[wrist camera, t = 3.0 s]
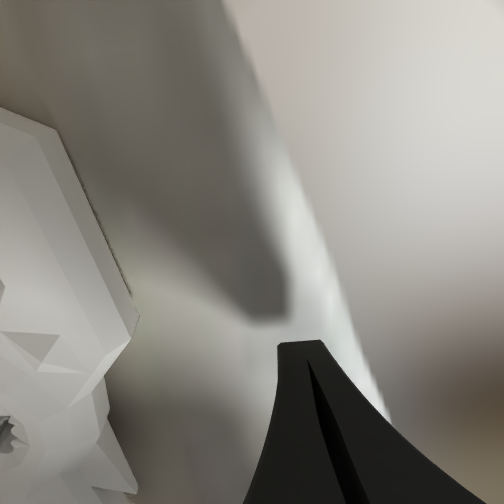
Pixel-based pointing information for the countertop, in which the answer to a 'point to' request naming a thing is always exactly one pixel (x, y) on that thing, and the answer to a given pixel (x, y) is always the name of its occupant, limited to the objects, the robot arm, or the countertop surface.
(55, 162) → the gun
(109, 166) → the countertop surface
